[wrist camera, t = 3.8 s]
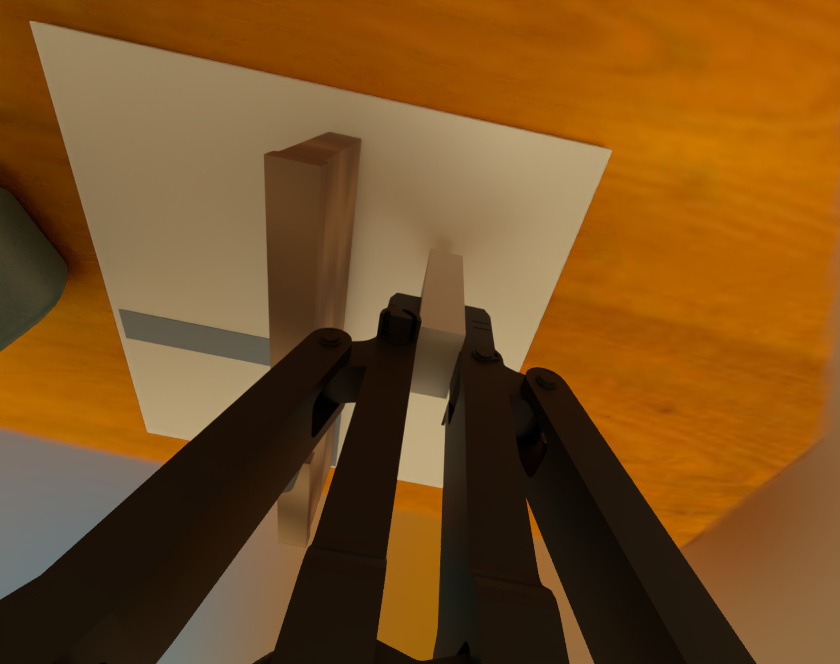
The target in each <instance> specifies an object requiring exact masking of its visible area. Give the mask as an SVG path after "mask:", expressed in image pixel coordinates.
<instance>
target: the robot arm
mask: <svg viewBox="0 0 840 664" xmlns="http://www.w3.org/2000/svg"><path fill="white" fill-rule="evenodd" d="M410 392H412V393H417V394H423V395H428V396H433V397H438V398H443V399H447V396H448V392H449V400H448V404H447V407H446V410H445V414H444V417H443V420H442V423H441V425H442V426H444V425H445V444H444V472H443V500H442V528H441V556H440V584H439V612H438V613H439V614H438V630H437V637H436V643H435V648H434V653H433V659H432V660H426V661H418V660H416V659H413V658H411V657H409V656H407V655H406V654H404V653H402V652H400V651H398V650H396V649H394V648H392V647H390V646H388V645H386V644H384V643H383V642H381V641H379V640H377V632H378V625H379V618H380V611H381V604H382V597H383V589H384V582H385V574H386V564H387V559H386V555H387V546H388V539H389V532H390V526H391V519H392V512H393V505H394V498H395V491H396V484H397V477H398V471H399V464H400V457H401V450H402V443H403V436H404V429H405V422H406V415H407V408H408V401H409V395H410ZM346 403H356V404H355V407H354V410H353V414H352V417H351V420H350V423H349V427H348V430H347V433H346V436H345V440H344V443H343V446H342V449H341V453H340V456H339V459H338V462H337V466H336V469H335V472H334V475H333V479H332V482H331V485H330V488H329V492H328V495H327V498H326V501H325V505H324V508H323V511H322V514H321V518H320V521H319V524H318V527H317V531H316V534H315V537H314V540H313V542H312V544H311V545H310V546H309V547H308V549H307V551H306V554H305V556H304V559H303V562H302V565H301V568H300V571H299V574H298V577H297V580H296V583H295V587H294V590H293V593H292V596H291V599H290V602H289V605H288V609H287V612H286V615H285V618H284V621H283V624H282V627H281V631H280V634H279V637H278V640H277V643H276V646H275V650H274V651H273V652H271V653H269V654H267V655H265V656H264V657H262V658H261V659H259V660H257V661H255V662H254V663H253V664H569V659H568V654H567V649H566V643H565V638H564V633H563V628H562V622H561V618H560V612H559V609H558V605H557V601H556V598H555V596H554V595H553V593H552V591H551V590H550V589H548V588H546V587H544V586H543V585H542V583H541V581H540V578H539V574H538V569H537V562H536V557H535V550H534V544H533V538H532V532H531V526H530V520H529V514H528V508H527V502H526V498H527V501H528V503H529V505H530V508H531V510H532V513H533V515H534V518H535V520H536V522H537V525H538V527H539V530H540V532H541V535H542V537H543V540H544V542H545V544H546V547H547V549H548V552H549V554H550V557H551V559H552V561H553V564H554V566H555V569H556V571H557V573H558V576H559V578H560V581H561V583H562V586H563V588H564V591H565V593H566V596H567V598H568V600H569V603H570V605H571V608H572V610H573V613H574V615H575V617H576V620H577V622H578V625H579V627H580V630H581V632H582V635H583V637H584V639H585V642H586V644H587V646H588V649H589V652H590V654H591V657H592V659H593V661H594V664H756V662H755V661H754V660H753V658H752V657H751V655H750V654H749V652H748V651H747V649H746V648H745V646H744V645H743V643H742V642H741V640H740V639H739V637H738V636H737V635H736V633H735V632H734V630H733V629H732V627H731V626H730V624H729V623H728V621H727V620H726V618H725V617H724V615H723V614H722V612H721V611H720V609H719V608H718V607H717V605H716V604H715V602H714V601H713V599H712V598H711V596H710V595H709V593H708V592H707V590H706V589H705V587H704V586H703V585H702V583H701V581H700V580H699V578H698V577H697V575H696V574H695V572H694V571H693V569H692V568H691V566H690V565H689V564H688V562H687V561H686V559H685V558H684V556H683V555H682V553H681V552H680V550H679V549H678V547H677V546H676V544H675V543H674V541H673V540H672V538H671V537H670V535H669V534H668V533H667V531H666V530H665V528H664V527H663V525H662V524H661V522H660V521H659V519H658V518H657V516H656V515H655V513H654V512H653V510H652V509H651V507H650V506H649V504H648V503H647V501H646V500H645V499H644V497H643V496H642V494H641V493H640V491H639V490H638V488H637V487H636V485H635V484H634V482H633V481H632V479H631V478H630V476H629V475H628V473H627V472H626V470H625V469H624V468H623V466H622V465H621V463H620V462H619V460H618V459H617V457H616V456H615V454H614V453H613V451H612V450H611V448H610V447H609V445H608V444H607V442H606V441H605V439H604V438H603V437H602V435H601V434H600V432H599V431H598V429H597V428H596V426H595V425H594V423H593V422H592V420H591V419H590V417H589V416H588V414H587V413H586V411H585V410H584V408H583V407H582V405H581V404H580V403H579V401H578V400H577V398H576V397H575V395H574V394H573V392H572V391H571V389H570V388H569V386H568V385H567V383H566V382H565V381H564V380H563V379H562V377H561V376H559V375H558V374H556V373H555V372H553V371H551V370H548V369H545V368H539V367H536V368H531V369H529V370H527V372H526V375H524V374H521V373H519V372H517V371H514V370H512V369H510V368H508V367H507V366H505V365H504V362H503V358H502V356H501V354H500V353H499V352H498V351H497V350H495V345H494V339H493V332H492V326H491V318H490V316H489V314H488V313H487V312H486V311H485V309H481V308H476V307H471V306H466V305H465V303H464V277H463V256H461V255H456V254H451V253H446V252H441V251H437V250H432V249H430V253H429V258H428V262H427V267H426V272H425V277H424V281H423V286H422V291H421V296H420V297H417V296H412V295H408V294H403V293H398V292H397V293H396V294H394V295H393V296H392V297H390V300H389V303H388V307H387V308H385V309H383V310H382V311H381V312H380V317H379V323H378V330H377V336H376V337H374V338H372V339H369V340H365V341H352V338H351V336H350V335H349V334H348V333H347V332H345V331H343V330H341V329H337V328H321V329H317V330H315V331H313V332H312V333H310V334H309V335H308V336H307V337H306V338H305V339H304V340H303V341H302V342H300V343H299V344H298V345H297V346H296V347H295V348H294V349H293V350H291V351H290V352H289V353H288V354H287V355H286V356H285V357H284V358H283V359H281V360H280V361H279V362H278V363H277V364H276V365H275V366H274V367H273V368H271V369H270V370H269V371H268V372H267V373H266V374H265V375H264V376H262V377H261V378H260V379H259V380H258V381H257V382H256V383H255V384H254V385H252V386H251V387H250V388H249V389H248V390H247V391H246V392H245V393H243V394H242V395H241V396H240V397H239V398H238V399H237V400H236V401H235V402H233V403H232V404H231V405H230V406H229V407H228V408H227V409H226V410H225V411H223V412H222V413H221V414H220V415H219V416H218V417H217V418H216V419H214V420H213V421H212V422H211V423H210V424H209V425H208V426H207V427H206V428H204V429H203V430H202V431H201V432H200V433H199V434H198V435H197V436H195V437H194V438H193V439H192V440H191V441H190V442H189V443H188V444H187V445H185V446H184V447H183V448H182V449H181V450H180V451H179V452H178V453H177V454H175V455H174V456H173V457H172V458H171V459H170V460H169V461H168V462H166V463H165V464H164V465H163V466H162V467H161V468H160V469H159V470H158V471H156V472H155V473H154V474H153V475H152V476H151V477H150V478H149V479H148V480H146V481H145V482H144V483H143V484H142V485H141V486H140V487H139V488H137V489H136V490H135V491H134V492H133V493H132V494H131V495H130V496H129V497H127V498H126V499H125V500H124V501H123V502H122V503H121V504H120V505H118V506H117V507H116V508H115V509H114V510H113V511H112V512H111V513H110V514H108V515H107V516H106V517H105V518H104V519H103V520H102V521H101V522H100V523H98V524H97V525H96V526H95V527H94V528H93V529H92V530H91V531H90V532H88V533H87V534H86V535H85V536H84V537H83V538H82V539H81V540H80V541H78V542H77V543H76V544H75V545H74V546H73V547H72V548H71V549H70V550H68V551H67V552H66V553H65V554H64V555H63V556H62V557H61V558H59V559H58V560H57V561H56V562H55V563H54V564H53V565H52V566H50V567H49V568H48V569H47V570H46V571H45V572H44V573H43V574H42V575H40V576H39V577H37V578H36V579H34V580H32V581H31V582H29V583H27V584H25V585H24V586H22V587H20V588H19V589H17V590H16V591H14V592H12V593H11V594H9V595H7V596H6V597H4V598H2V599H1V600H0V664H156V663H157V661H158V660H159V659H160V658H161V657H162V655H163V654H164V653H165V652H166V650H167V649H168V648H169V646H170V645H171V644H172V643H173V641H174V640H175V639H176V637H177V636H178V634H179V633H180V632H181V630H182V629H183V628H184V626H185V625H186V624H187V622H188V621H189V619H190V618H191V617H192V615H193V614H194V613H195V611H196V610H197V608H198V607H199V606H200V604H201V603H202V602H203V600H204V599H205V598H206V596H207V595H208V593H209V592H210V591H211V589H212V588H213V586H214V585H215V584H216V583H217V581H218V580H219V578H220V577H221V576H222V574H223V573H224V572H225V570H226V569H227V567H228V566H229V565H230V563H231V562H232V561H233V559H234V558H235V557H236V555H237V554H238V552H239V551H240V550H241V548H242V547H243V545H244V544H245V543H246V541H247V540H248V539H249V537H250V536H251V535H252V533H253V532H254V530H255V529H256V528H257V526H258V525H259V524H260V522H261V521H262V520H263V518H264V517H265V515H266V514H267V513H268V511H269V510H270V508H271V507H272V506H273V504H274V503H275V502H276V500H277V499H278V498H279V496H280V495H281V494H282V492H283V491H284V489H285V488H286V487H287V485H288V484H289V483H290V481H291V480H292V478H293V477H294V476H295V474H296V473H297V472H298V470H299V469H300V468H301V466H302V465H303V463H304V462H305V461H306V459H307V458H308V457H309V455H310V454H311V452H312V451H313V450H314V448H315V447H316V446H317V444H318V443H319V442H320V440H321V439H322V437H323V436H324V435H325V433H326V432H327V431H328V429H329V428H330V426H331V425H332V424H333V422H334V421H335V420H336V418H337V417H338V415H339V414H340V413H341V411H342V410H343V409H344V406H345V404H346Z"/></svg>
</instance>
